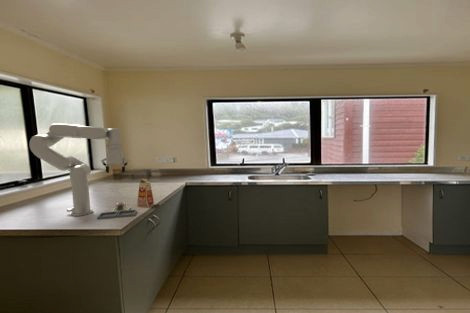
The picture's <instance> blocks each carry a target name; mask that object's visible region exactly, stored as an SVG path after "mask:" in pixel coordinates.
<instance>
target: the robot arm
mask: <svg viewBox="0 0 470 313" xmlns="http://www.w3.org/2000/svg"><path fill="white" fill-rule="evenodd" d="M121 133H122V132H121V128H118V127H117V128H115V127H112V128H111V127H110V128H106V127H97V126H86V125H80V124H69V123H59V122H57V123H56V122H55V123H52V124H51V125H50V126H49V128H48V132H46V133H45V134H41V133H40V134H36V135H33V136H31V138H30V140H29V150H30V151H31V152H32V154H33V155H34V156H36V157H37V158H38V159H40V160H42V161H44V162H45V163H47V164H48V165H50V166H52V167H54V168H56V169H57V170H58V171H61V172H66V171H68V172H69V181H70V184H71V191H72V192H71V194H72V204H73V206H72V207H69V208H66V212H67V213H68V212H69V213H70V212H71V213H70V215H71V216H73V217H80V216H87V215H90V214H92V213H94V209H93V208H91V201H90V199H91V198H90V187H89V180H88V177H89V176H90V175H91V173H92V169H91V167H90V166H89V165H88V164H86V163H85V162H83V161H81V160H79V159H78V158H76V157H74V156H72V155H63V154H62V153H60V152H58V151H56V150H54V149H52V148H50V147H53V146H55V144H57V143H58V142H60V141H61V140H63V139H65V138H69V139H89V140H90V139H91V140H108V144H107V145H105V147H106V148H107V150H106V155H105V156H106V157H105V158H103V159H102V160H100V161H101V163H102V165H103V166H104V167H105V172H106V173H107V174H109V173H110V165H121V166H122V167H121V172H122V173H125V172H126V166H127V165H128V164H129V162H130V160H129V159H128V158H125V157H124V152H123V148H122V138H121V136H122V135H121ZM105 161H106V162H105ZM124 162H125V163H124Z"/></svg>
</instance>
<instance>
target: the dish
mask: <svg viewBox="0 0 470 313" xmlns="http://www.w3.org/2000/svg"><path fill="white" fill-rule="evenodd" d="M127 210H131V206H130V205H129V206H126V210H121V211H127ZM110 212H116V207H114V208H113V209H112V210H111V211H110ZM119 212H120V211H119Z"/></svg>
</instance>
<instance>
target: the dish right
mask: <svg viewBox="0 0 470 313" xmlns="http://www.w3.org/2000/svg"><path fill="white" fill-rule="evenodd" d="M137 211H138V210H137V209H130V210H127V211H120V212H119V213H118V215H117V216H116V218H125V217H135V216H136V214H137Z"/></svg>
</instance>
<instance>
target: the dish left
mask: <svg viewBox="0 0 470 313" xmlns="http://www.w3.org/2000/svg"><path fill="white" fill-rule="evenodd" d="M118 213H119V211H116V212H111V211H107V212H106V211H105V212H101V213H100V214H98V216H97V217H96V218H97V219H96V220H104V219H115V218H117V215H118Z"/></svg>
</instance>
